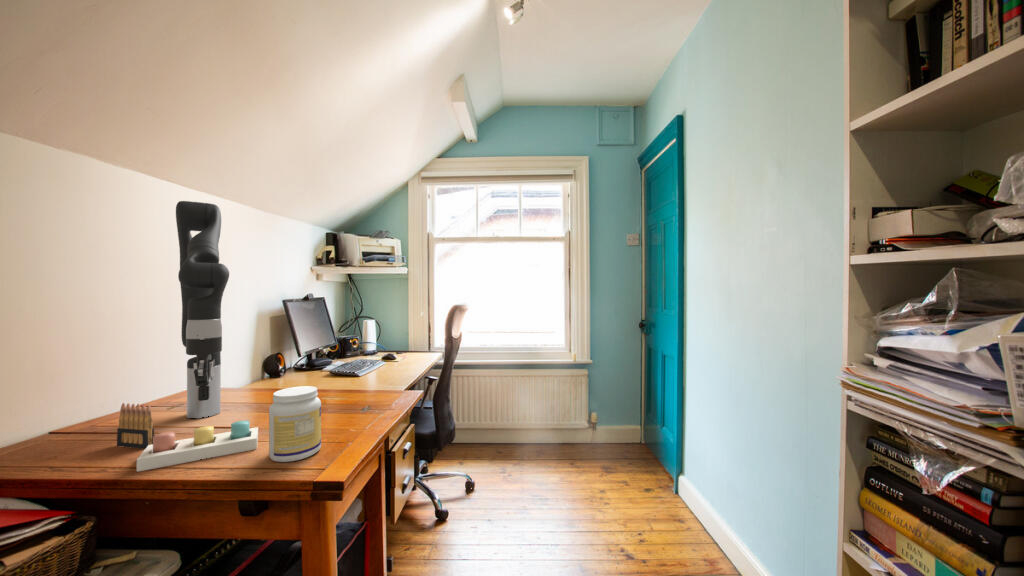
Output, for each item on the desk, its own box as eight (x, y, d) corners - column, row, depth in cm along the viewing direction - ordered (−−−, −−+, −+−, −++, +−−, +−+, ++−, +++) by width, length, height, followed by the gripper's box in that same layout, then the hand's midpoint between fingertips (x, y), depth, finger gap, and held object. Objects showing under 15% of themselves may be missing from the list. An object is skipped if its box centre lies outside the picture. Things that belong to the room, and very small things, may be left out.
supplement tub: (330, 450, 102) (330, 388, 102) (284, 468, 92) (285, 399, 92) (305, 440, 108) (305, 383, 109) (259, 457, 98) (259, 392, 98)
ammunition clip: (116, 446, 105) (116, 403, 105) (124, 443, 107) (124, 401, 107) (147, 449, 103) (147, 405, 103) (154, 446, 105) (154, 403, 105)
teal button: (231, 436, 106) (231, 422, 106) (249, 433, 108) (249, 419, 108) (230, 442, 102) (230, 426, 102) (248, 438, 104) (249, 423, 104)
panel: (148, 456, 98) (148, 445, 98) (258, 437, 111) (258, 427, 111) (136, 471, 90) (136, 459, 90) (256, 449, 103) (256, 438, 103)
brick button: (155, 449, 97) (155, 433, 97) (176, 446, 99) (176, 430, 99) (150, 455, 93) (150, 439, 94) (173, 452, 96) (173, 435, 96)
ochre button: (195, 443, 101) (195, 427, 101) (214, 439, 104) (214, 424, 104) (192, 448, 98) (192, 432, 98) (212, 445, 100) (212, 429, 100)
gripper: (191, 334, 105) (190, 396, 104) (180, 339, 93) (180, 408, 93) (224, 332, 109) (224, 392, 108) (218, 337, 97) (218, 403, 97)
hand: (203, 399), depth 101 cm, fingers closed
